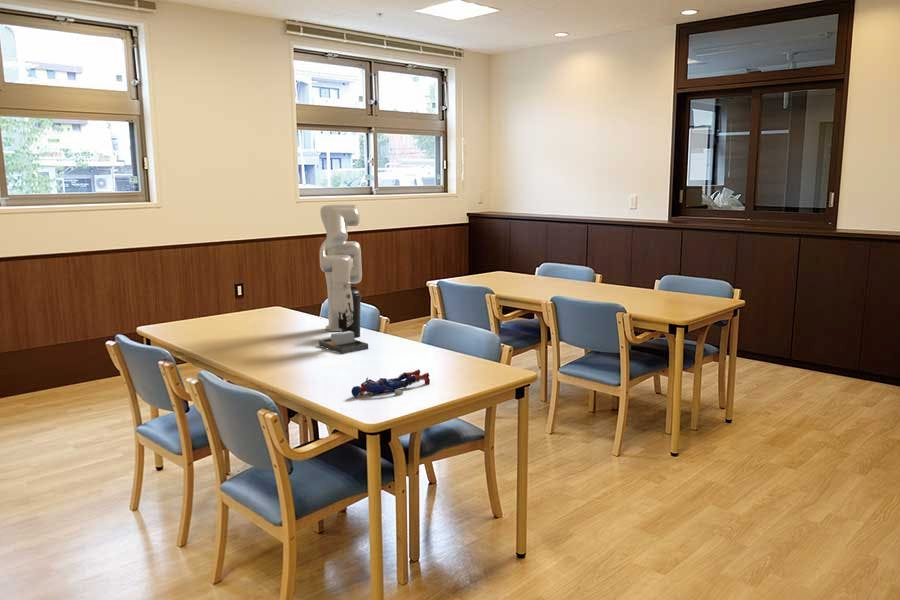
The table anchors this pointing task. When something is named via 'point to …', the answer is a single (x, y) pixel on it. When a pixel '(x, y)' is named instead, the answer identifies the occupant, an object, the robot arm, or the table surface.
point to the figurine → (390, 384)
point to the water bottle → (354, 314)
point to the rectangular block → (342, 337)
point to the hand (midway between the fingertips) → (342, 328)
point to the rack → (344, 346)
